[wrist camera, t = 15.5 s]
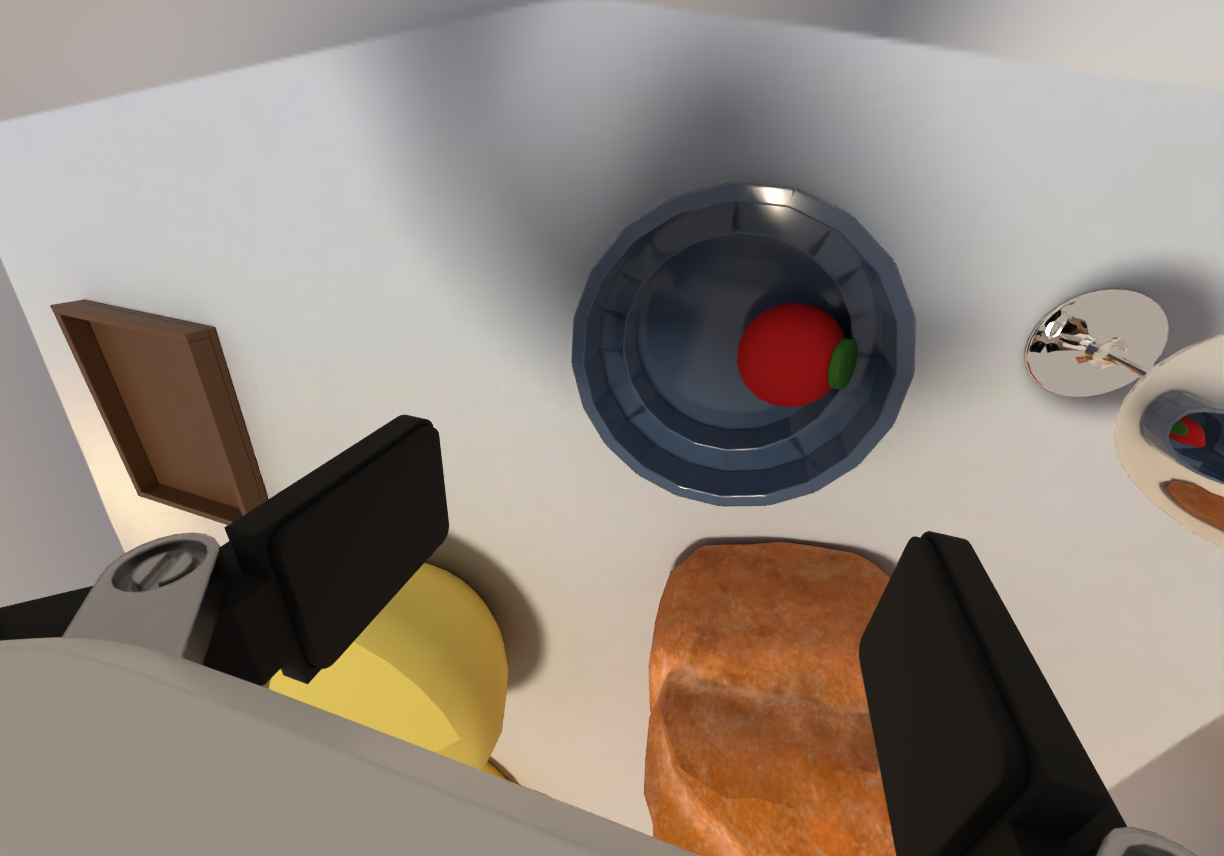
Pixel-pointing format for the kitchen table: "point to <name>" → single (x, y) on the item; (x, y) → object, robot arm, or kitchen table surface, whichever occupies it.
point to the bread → (765, 705)
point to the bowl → (737, 343)
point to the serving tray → (167, 407)
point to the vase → (421, 671)
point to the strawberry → (795, 355)
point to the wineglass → (1145, 398)
